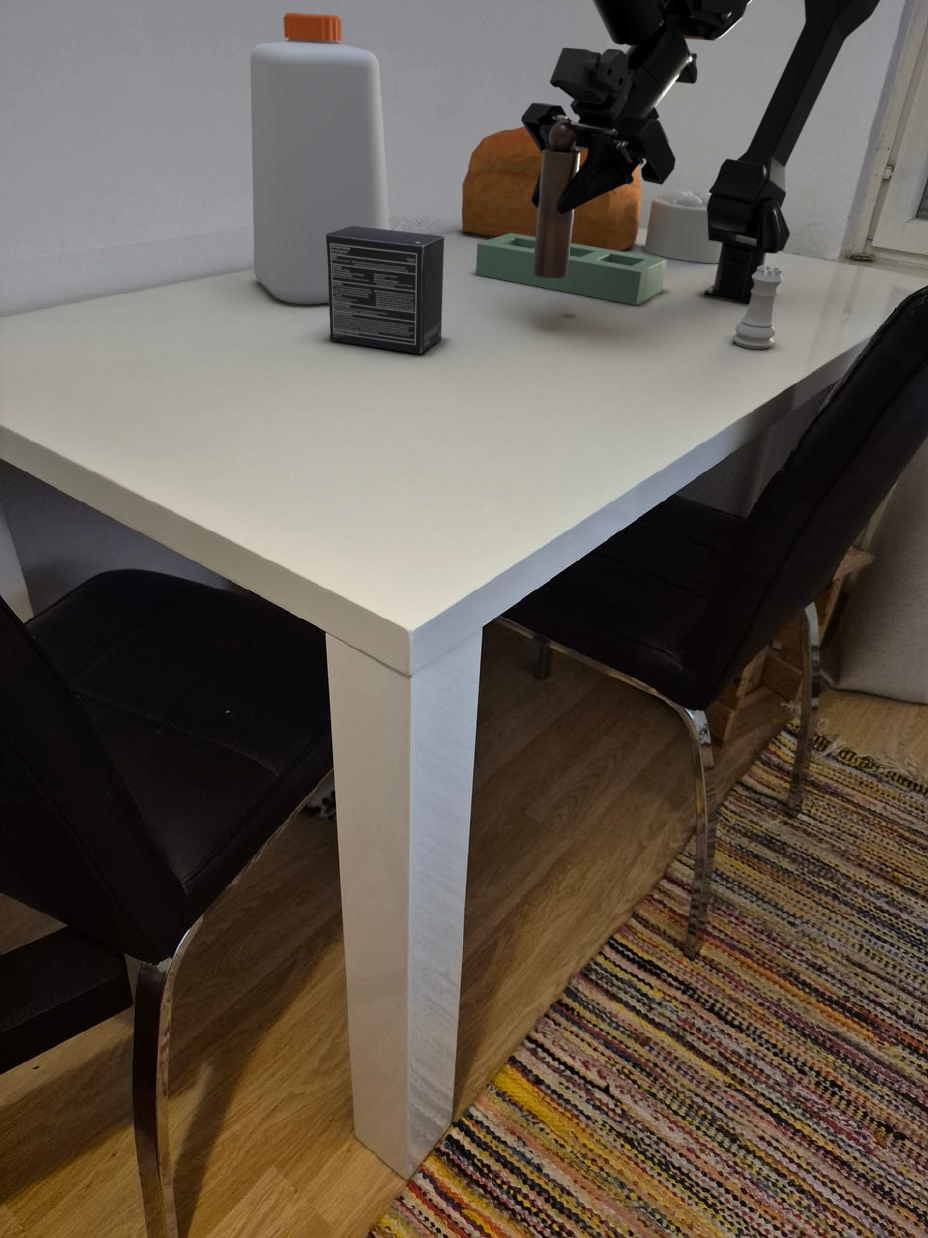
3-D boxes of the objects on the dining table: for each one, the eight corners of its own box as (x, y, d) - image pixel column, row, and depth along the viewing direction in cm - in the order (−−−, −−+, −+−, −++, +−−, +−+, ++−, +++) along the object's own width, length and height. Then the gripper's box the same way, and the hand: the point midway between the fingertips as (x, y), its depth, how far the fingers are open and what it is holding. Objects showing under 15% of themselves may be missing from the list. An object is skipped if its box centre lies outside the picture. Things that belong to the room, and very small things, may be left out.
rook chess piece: (775, 341, 98) (794, 267, 94) (769, 352, 95) (788, 275, 90) (735, 335, 100) (751, 261, 95) (728, 345, 96) (744, 269, 92)
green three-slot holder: (508, 262, 124) (510, 232, 122) (662, 291, 115) (667, 259, 113) (475, 274, 118) (477, 242, 116) (636, 305, 108) (641, 271, 106)
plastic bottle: (360, 270, 116) (355, 15, 101) (403, 300, 105) (405, 19, 90) (248, 277, 111) (224, 8, 95) (280, 309, 100) (260, 11, 84)
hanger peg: (543, 268, 97) (556, 118, 89) (573, 274, 96) (590, 121, 88) (526, 274, 95) (538, 120, 87) (556, 280, 93) (572, 124, 85)
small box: (444, 338, 93) (448, 233, 88) (422, 356, 88) (424, 245, 82) (354, 325, 96) (351, 222, 90) (327, 341, 91) (323, 232, 85)
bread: (496, 220, 151) (502, 114, 142) (643, 242, 141) (660, 130, 132) (450, 234, 139) (454, 120, 130) (608, 260, 129) (624, 138, 120)
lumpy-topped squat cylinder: (718, 265, 129) (730, 201, 125) (634, 252, 134) (643, 190, 129) (735, 253, 137) (748, 192, 132) (656, 241, 142) (665, 182, 137)
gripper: (542, 11, 90) (451, 135, 91) (677, 17, 78) (570, 160, 79) (590, 99, 98) (506, 212, 99) (717, 117, 86) (620, 246, 87)
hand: (546, 207), depth 91 cm, fingers closed on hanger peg, 4 cm apart
